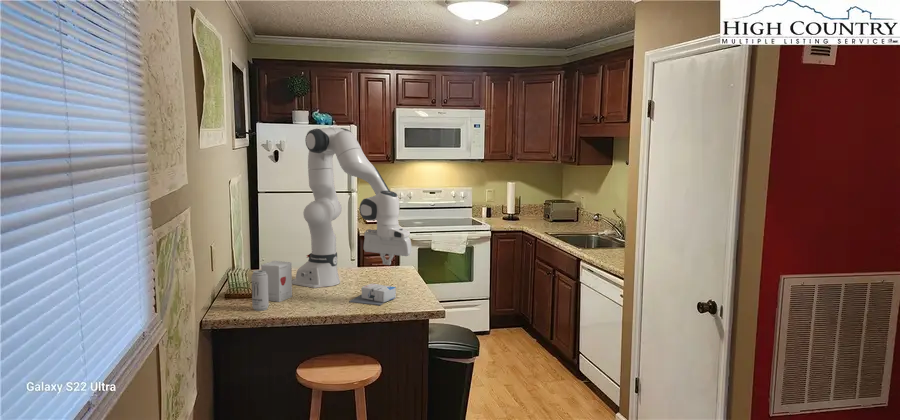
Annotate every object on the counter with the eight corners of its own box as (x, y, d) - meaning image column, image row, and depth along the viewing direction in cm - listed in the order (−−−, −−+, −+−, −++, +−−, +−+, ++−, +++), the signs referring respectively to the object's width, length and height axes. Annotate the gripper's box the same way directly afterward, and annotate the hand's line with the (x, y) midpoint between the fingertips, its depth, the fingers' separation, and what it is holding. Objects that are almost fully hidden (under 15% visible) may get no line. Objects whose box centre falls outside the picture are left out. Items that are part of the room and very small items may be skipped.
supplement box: (279, 302, 233) (278, 266, 232) (261, 300, 236) (260, 264, 235) (293, 296, 242) (292, 261, 240) (275, 294, 245) (274, 260, 243)
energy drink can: (249, 310, 223) (247, 272, 221) (260, 306, 228) (258, 269, 226) (261, 312, 220) (260, 273, 218) (272, 307, 226) (271, 270, 224)
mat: (349, 302, 235) (348, 301, 235) (363, 294, 247) (363, 293, 247) (380, 305, 230) (380, 304, 230) (393, 297, 242) (393, 296, 242)
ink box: (396, 298, 240) (373, 294, 246) (396, 286, 239) (373, 282, 245) (383, 302, 232) (361, 299, 238) (383, 290, 232) (360, 287, 238)
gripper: (361, 229, 233) (360, 263, 235) (407, 234, 227) (406, 268, 228) (368, 227, 239) (367, 260, 241) (413, 232, 232) (412, 265, 234)
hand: (386, 264), depth 234 cm, fingers closed
